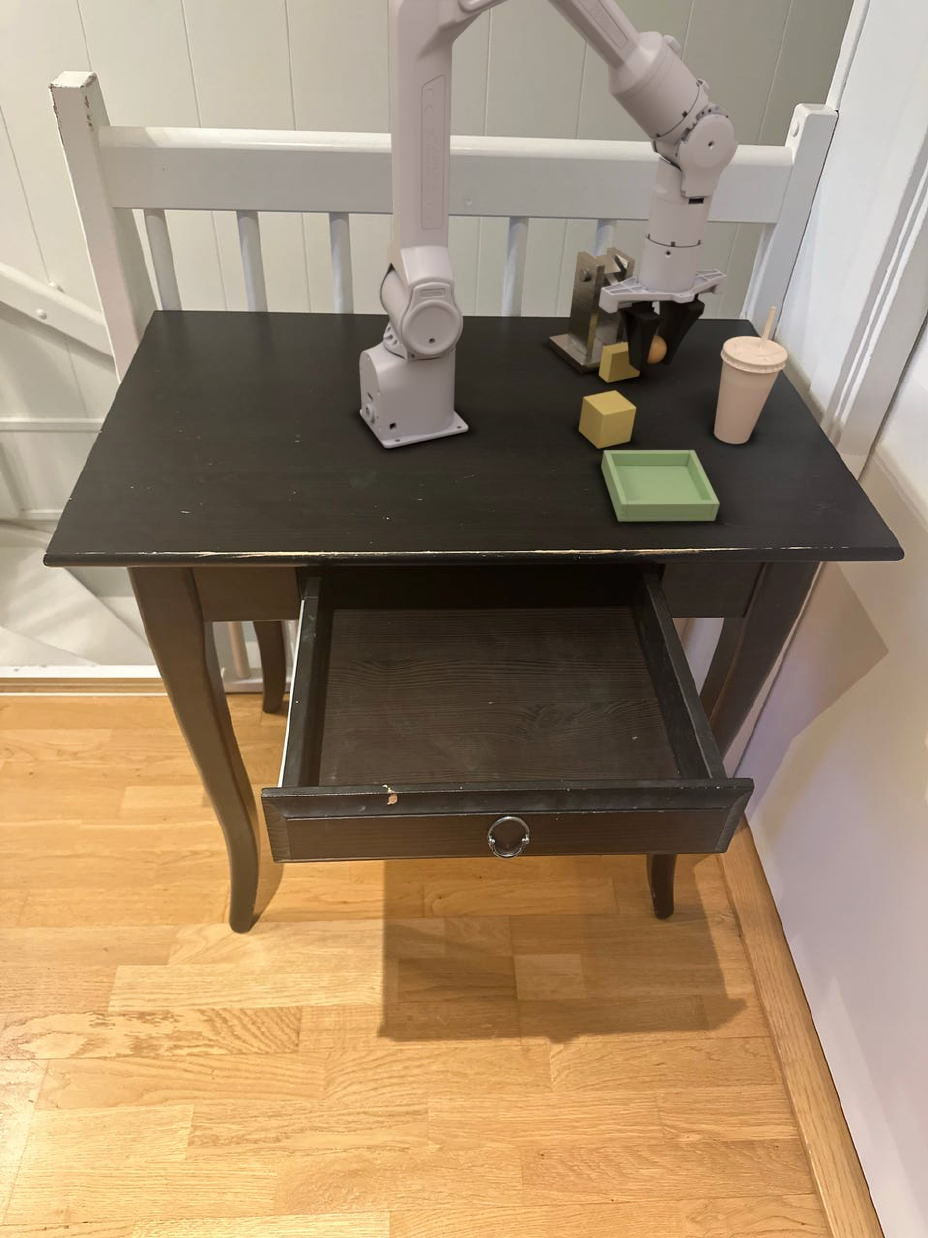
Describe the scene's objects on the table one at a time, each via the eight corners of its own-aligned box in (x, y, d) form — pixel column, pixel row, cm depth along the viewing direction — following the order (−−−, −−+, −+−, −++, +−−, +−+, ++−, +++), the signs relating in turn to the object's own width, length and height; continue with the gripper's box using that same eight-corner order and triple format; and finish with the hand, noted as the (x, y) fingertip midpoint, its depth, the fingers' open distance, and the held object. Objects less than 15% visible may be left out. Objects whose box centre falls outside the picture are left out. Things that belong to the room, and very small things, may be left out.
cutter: (637, 362, 102) (655, 263, 94) (581, 374, 99) (595, 273, 91) (602, 335, 107) (616, 239, 99) (547, 345, 104) (558, 248, 96)
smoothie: (763, 454, 87) (805, 324, 78) (701, 446, 88) (734, 316, 79) (760, 423, 92) (799, 297, 82) (700, 416, 93) (732, 290, 83)
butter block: (638, 376, 99) (644, 347, 97) (607, 382, 98) (612, 353, 95) (629, 368, 101) (634, 340, 98) (598, 375, 99) (602, 346, 97)
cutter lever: (664, 366, 93) (675, 347, 91) (642, 371, 92) (652, 351, 90) (605, 272, 99) (614, 251, 96) (583, 275, 98) (591, 254, 95)
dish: (618, 521, 78) (621, 503, 77) (600, 467, 85) (603, 449, 83) (714, 520, 79) (720, 503, 77) (690, 466, 85) (694, 449, 84)
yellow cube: (598, 449, 87) (603, 414, 84) (578, 430, 90) (583, 396, 87) (630, 441, 88) (636, 407, 86) (609, 423, 91) (615, 389, 88)
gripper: (636, 260, 79) (613, 392, 88) (757, 241, 84) (723, 368, 93) (596, 235, 84) (579, 363, 93) (713, 219, 88) (685, 342, 98)
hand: (649, 364), depth 93 cm, fingers closed on cutter lever, 3 cm apart
